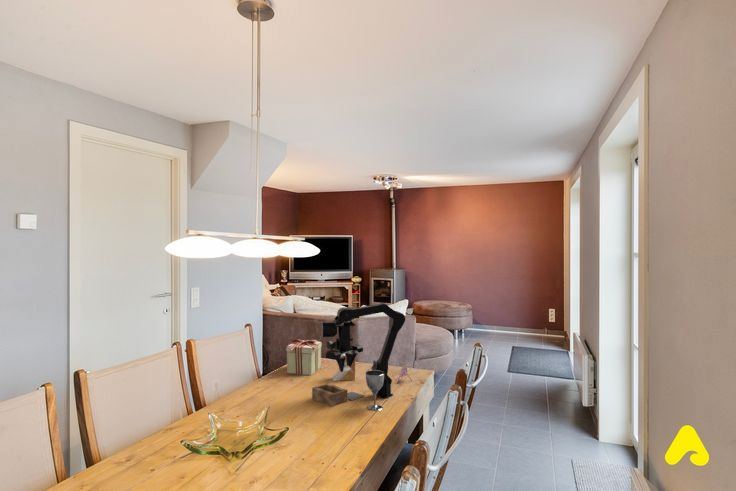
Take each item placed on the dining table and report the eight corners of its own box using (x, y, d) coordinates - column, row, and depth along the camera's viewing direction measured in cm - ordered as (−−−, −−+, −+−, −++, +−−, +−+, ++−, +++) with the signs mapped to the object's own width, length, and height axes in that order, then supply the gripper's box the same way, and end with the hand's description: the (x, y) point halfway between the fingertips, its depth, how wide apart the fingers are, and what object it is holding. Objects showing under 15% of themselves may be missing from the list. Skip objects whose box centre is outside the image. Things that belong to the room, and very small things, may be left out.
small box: (339, 380, 217) (339, 355, 217) (338, 377, 223) (338, 352, 223) (355, 380, 218) (355, 354, 218) (354, 376, 224) (354, 351, 224)
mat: (364, 396, 194) (364, 395, 194) (352, 401, 188) (352, 400, 188) (352, 392, 200) (352, 391, 200) (339, 396, 194) (339, 395, 194)
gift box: (283, 375, 225) (283, 343, 225) (295, 366, 243) (295, 336, 243) (314, 377, 222) (314, 344, 222) (324, 367, 240) (324, 337, 240)
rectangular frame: (347, 401, 188) (347, 389, 188) (332, 406, 182) (332, 395, 182) (327, 393, 197) (327, 383, 197) (312, 399, 191) (312, 387, 191)
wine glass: (387, 407, 181) (388, 372, 181) (375, 413, 175) (375, 376, 175) (374, 402, 186) (374, 368, 186) (361, 407, 180) (361, 372, 180)
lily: (403, 378, 225) (394, 362, 225) (422, 372, 220) (413, 357, 219) (396, 391, 215) (387, 375, 214) (415, 386, 209) (406, 370, 208)
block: (350, 369, 192) (348, 365, 193) (344, 371, 189) (342, 367, 190) (340, 379, 197) (338, 375, 197) (334, 381, 194) (332, 377, 194)
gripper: (346, 330, 204) (346, 362, 204) (317, 337, 190) (317, 372, 190) (363, 333, 197) (364, 367, 197) (334, 340, 183) (334, 376, 183)
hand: (345, 370), depth 192 cm, fingers closed on block, 4 cm apart
